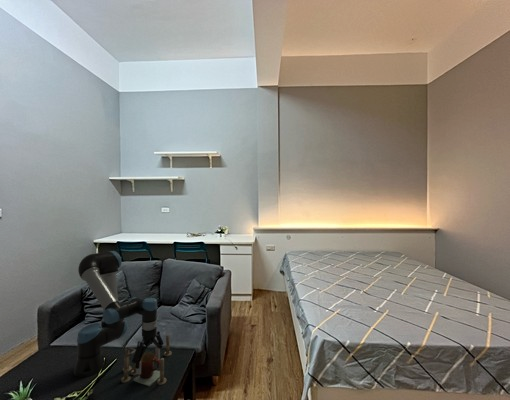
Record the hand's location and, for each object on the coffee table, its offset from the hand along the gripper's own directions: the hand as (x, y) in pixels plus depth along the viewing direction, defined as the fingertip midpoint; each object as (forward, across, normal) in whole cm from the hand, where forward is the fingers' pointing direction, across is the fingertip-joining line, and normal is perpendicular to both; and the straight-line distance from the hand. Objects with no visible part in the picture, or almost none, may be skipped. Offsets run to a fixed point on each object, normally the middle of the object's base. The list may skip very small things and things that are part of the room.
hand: (148, 366), depth 146 cm
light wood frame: (+6, -3, +13) cm, 14 cm away
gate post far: (+6, +21, +5) cm, 23 cm away
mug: (+5, 0, -1) cm, 6 cm away
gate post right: (+6, 0, -10) cm, 11 cm away
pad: (+6, 0, -1) cm, 6 cm away
